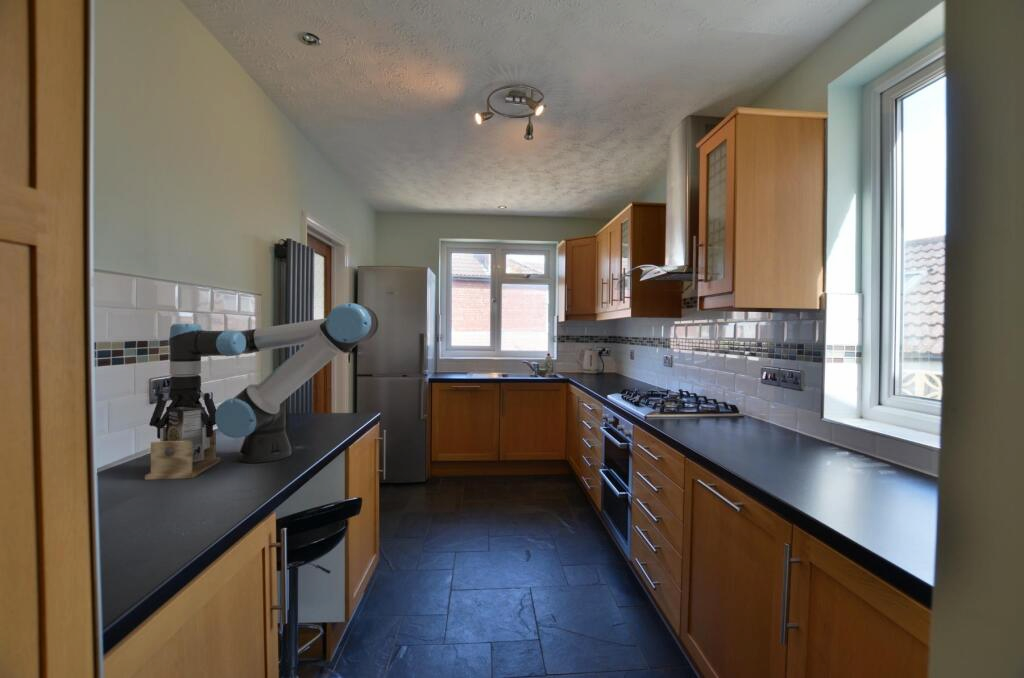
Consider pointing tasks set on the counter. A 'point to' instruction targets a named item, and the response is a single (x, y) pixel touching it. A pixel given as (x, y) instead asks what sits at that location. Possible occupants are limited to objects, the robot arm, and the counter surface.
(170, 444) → the oak holder
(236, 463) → the counter surface
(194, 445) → the coffee box
